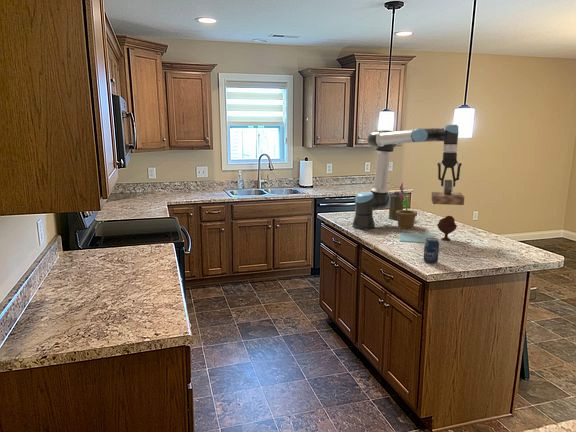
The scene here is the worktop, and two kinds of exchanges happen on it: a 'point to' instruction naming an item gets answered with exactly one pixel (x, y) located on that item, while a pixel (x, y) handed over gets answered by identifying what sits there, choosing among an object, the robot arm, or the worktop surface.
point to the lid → (447, 196)
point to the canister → (395, 205)
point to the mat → (414, 237)
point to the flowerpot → (405, 213)
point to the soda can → (431, 250)
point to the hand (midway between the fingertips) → (447, 191)
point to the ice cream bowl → (447, 226)
